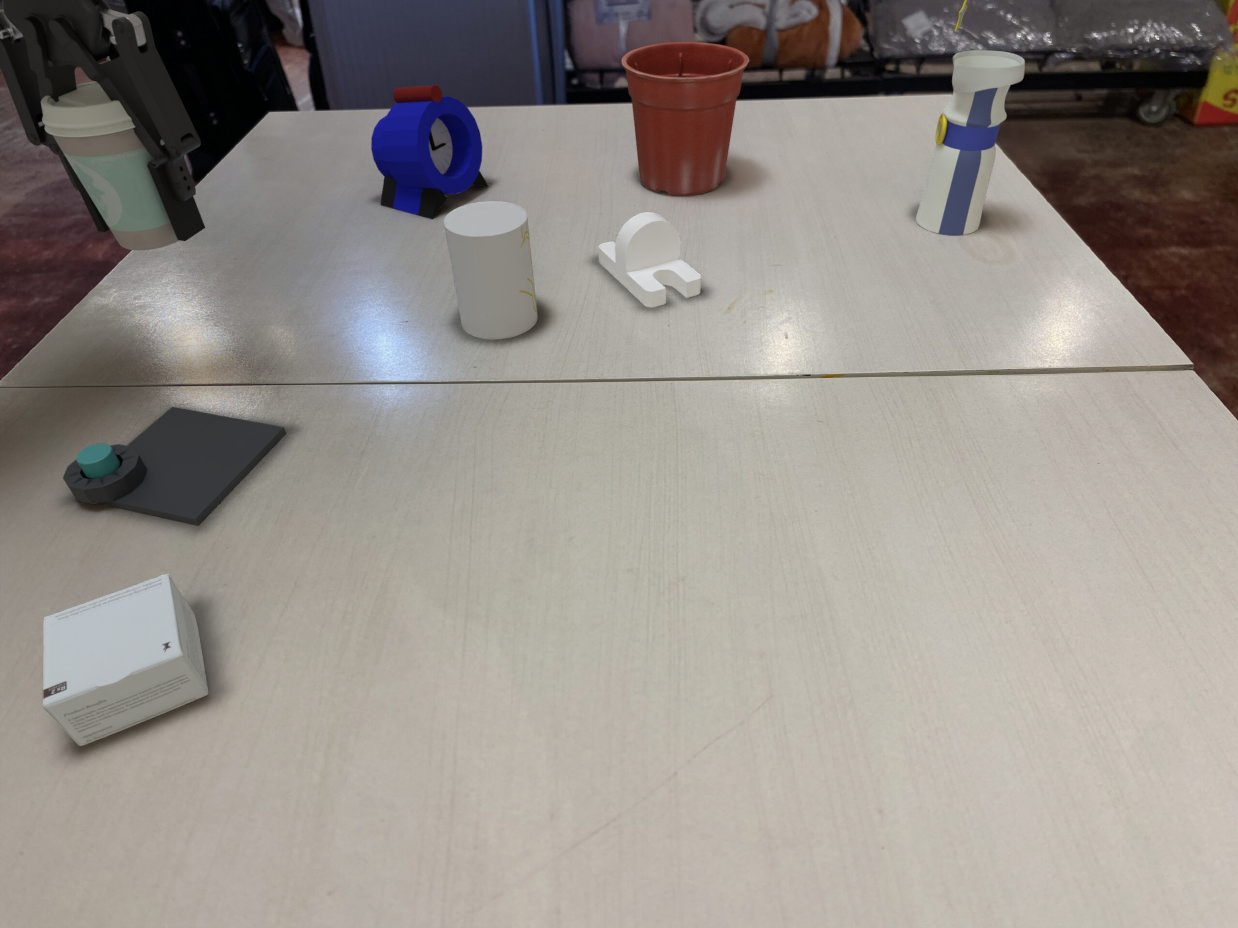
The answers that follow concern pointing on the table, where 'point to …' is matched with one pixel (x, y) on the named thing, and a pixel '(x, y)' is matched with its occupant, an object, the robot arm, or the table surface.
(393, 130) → the alarm clock
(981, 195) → the water bottle
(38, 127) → the robot arm
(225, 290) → the table surface
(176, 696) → the small box
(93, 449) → the button
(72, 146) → the coffee cup
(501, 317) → the cup
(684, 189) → the flower pot
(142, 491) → the scale
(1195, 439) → the table surface
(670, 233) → the slotted bracket
